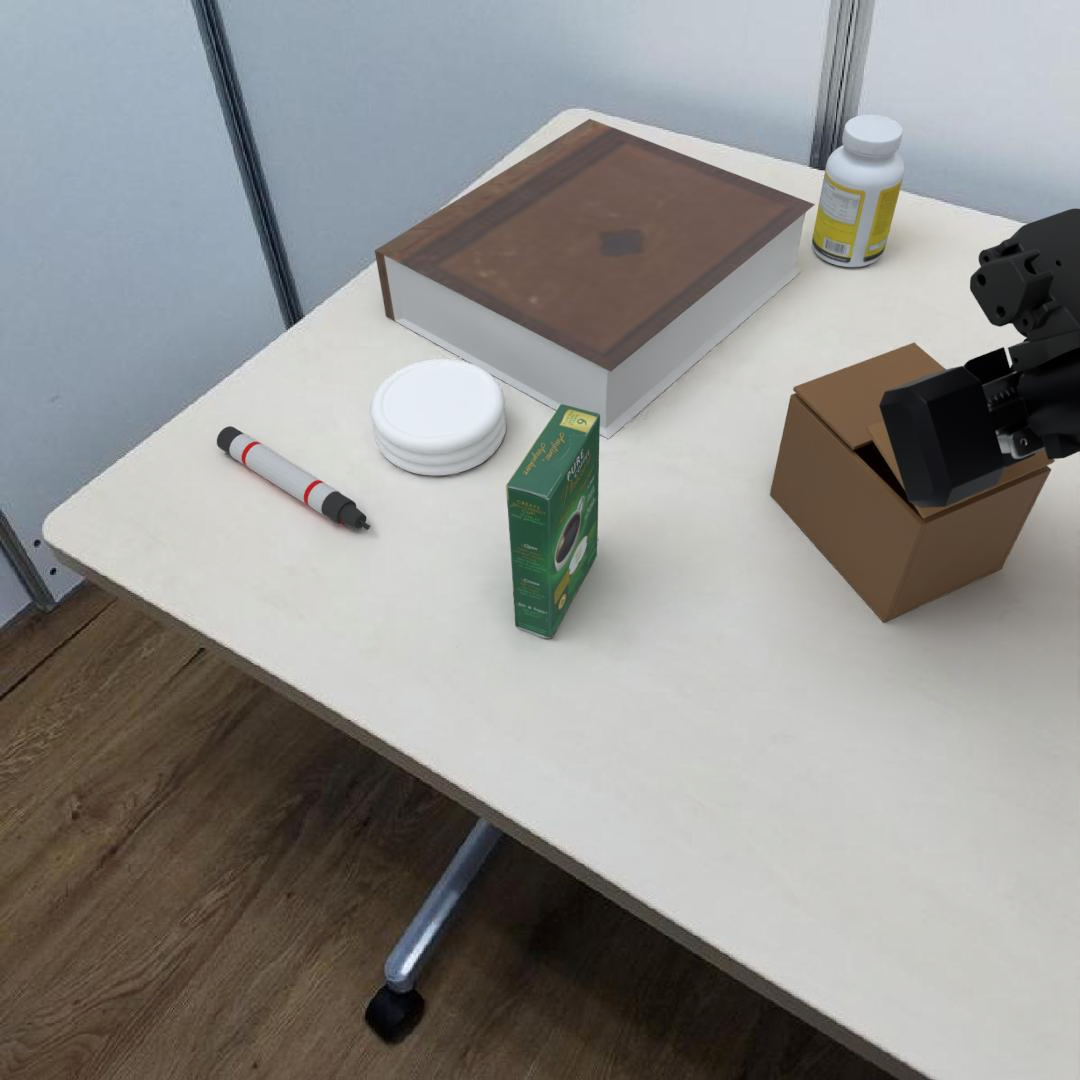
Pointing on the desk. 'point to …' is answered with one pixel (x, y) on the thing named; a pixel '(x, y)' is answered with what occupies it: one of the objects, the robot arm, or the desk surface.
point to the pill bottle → (859, 192)
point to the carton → (885, 494)
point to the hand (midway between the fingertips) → (942, 411)
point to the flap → (1009, 474)
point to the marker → (291, 478)
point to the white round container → (438, 416)
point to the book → (594, 269)
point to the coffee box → (554, 519)
